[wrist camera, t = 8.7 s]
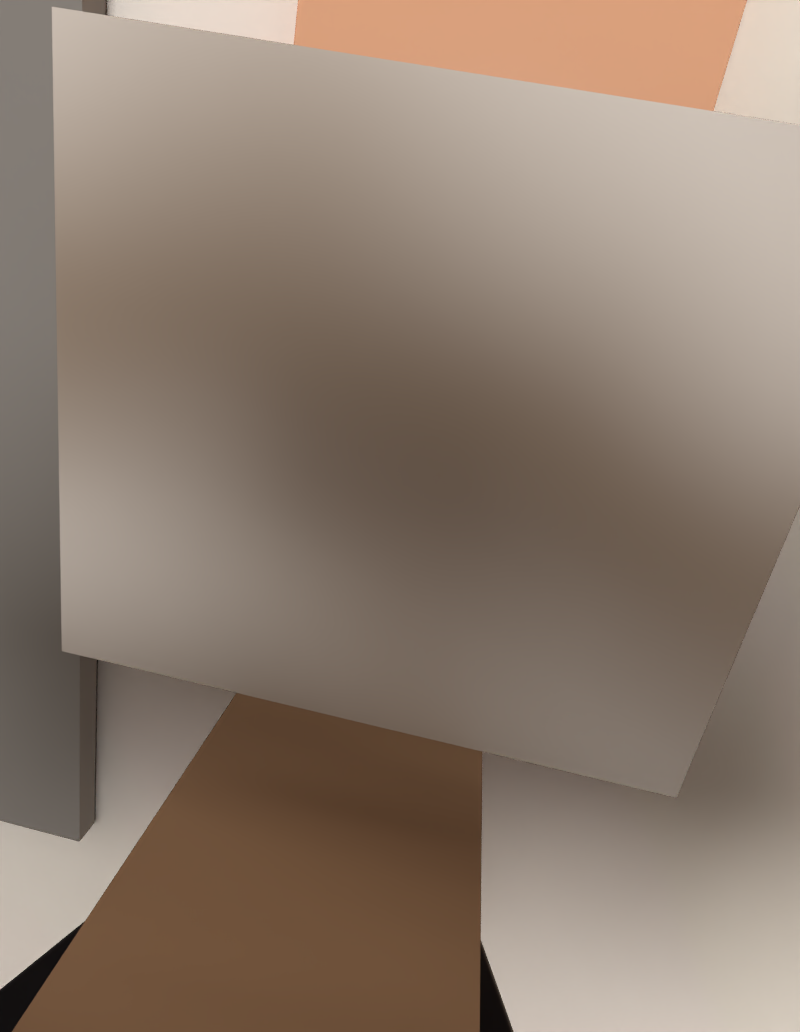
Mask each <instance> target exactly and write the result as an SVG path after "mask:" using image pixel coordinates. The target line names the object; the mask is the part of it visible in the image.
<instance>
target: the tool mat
mask: <svg viewBox="0 0 800 1032" xmlns="http://www.w3.org/2000/svg"><path fill="white" fill-rule="evenodd" d="M52 7H58V8H64V9H70V10H77V11H83V12H89V13H96V14H102V15H106V0H0V821H4V822H8V823H11V824H15V825H19V826H23V827H26V828H30V829H34V830H38V831H42V832H45V833H49V834H53V835H57V836H60V837H64V838H68V839H72V840H76V841H80V840H81V839H82V838H83V836H84V835H85V834H86V833H87V831H88V830H89V829H90V827H91V826H92V825H93V824H94V819H95V746H96V673H97V659H93V658H89V657H84V656H80V655H76V654H72V653H68V652H64V651H62V633H61V568H60V504H59V440H58V375H57V311H56V247H55V182H54V118H53V53H52Z"/></svg>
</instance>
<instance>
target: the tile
mask: <svg viewBox="0 0 800 1032" xmlns="http://www.w3.org/2000/svg"><path fill="white" fill-rule="evenodd" d="M746 2H747V0H298V7H297V17H296V27H295V37H294V45H298V46H304V47H311V48H317V49H323V50H330V51H336V52H342V53H349V54H355V55H361V56H368V57H374V58H380V59H387V60H393V61H399V62H406V63H412V64H418V65H425V66H431V67H437V68H444V69H450V70H456V71H463V72H469V73H475V74H482V75H488V76H494V77H501V78H507V79H513V80H520V81H526V82H532V83H539V84H545V85H551V86H557V87H564V88H570V89H576V90H583V91H589V92H595V93H602V94H608V95H614V96H621V97H627V98H633V99H640V100H646V101H652V102H659V103H665V104H671V105H678V106H684V107H690V108H697V109H703V110H709V111H713V110H714V107H715V104H716V100H717V97H718V94H719V90H720V87H721V84H722V81H723V77H724V74H725V71H726V67H727V64H728V61H729V58H730V54H731V51H732V48H733V44H734V41H735V38H736V35H737V31H738V28H739V25H740V21H741V18H742V15H743V11H744V8H745V5H746Z"/></svg>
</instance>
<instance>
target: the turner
mask: <svg viewBox="0 0 800 1032" xmlns="http://www.w3.org/2000/svg"><path fill="white" fill-rule="evenodd" d="M52 53H53V118H54V182H55V247H56V311H57V375H58V440H59V504H60V568H61V633H62V651H64V652H68V653H72V654H76V655H80V656H84V657H89V658H93V659H97V660H101V661H105V662H110V663H114V664H118V665H122V666H126V667H130V668H135V669H139V670H143V671H147V672H151V673H156V674H160V675H164V676H168V677H172V678H177V679H181V680H185V681H189V682H193V683H197V684H202V685H206V686H210V687H214V688H218V689H223V690H227V691H231V692H235V693H236V695H235V696H234V698H233V699H232V701H231V702H230V704H229V705H228V707H227V708H226V710H225V711H224V713H223V714H222V716H221V717H220V719H219V720H218V722H217V723H216V725H215V726H214V728H213V729H212V731H211V732H210V734H209V735H208V737H207V738H206V740H205V741H204V743H203V744H202V746H201V747H200V749H199V750H198V752H197V753H196V755H195V756H194V758H193V759H192V761H191V762H190V764H189V765H188V767H187V768H186V770H185V772H184V773H183V775H182V776H181V778H180V779H179V781H178V782H177V784H176V785H175V787H174V788H173V790H172V791H171V793H170V794H169V796H168V797H167V799H166V800H165V802H164V803H163V805H162V806H161V808H160V809H159V811H158V812H157V814H156V815H155V817H154V818H153V820H152V821H151V823H150V824H149V826H148V827H147V829H146V830H145V832H144V833H143V835H142V836H141V838H140V839H139V841H138V842H137V844H136V845H135V847H134V848H133V850H132V851H131V853H130V854H129V856H128V857H127V859H126V860H125V862H124V863H123V865H122V866H121V868H120V869H119V871H118V872H117V874H116V875H115V877H114V879H113V880H112V882H111V883H110V885H109V886H108V888H107V889H106V891H105V892H104V894H103V895H102V897H101V898H100V900H99V901H98V903H97V904H96V906H95V907H94V909H93V910H92V912H91V913H90V915H89V916H88V918H87V919H86V921H85V922H84V924H83V925H82V927H81V928H80V930H79V931H78V933H77V934H76V936H75V937H74V939H73V940H72V942H71V943H70V945H69V946H68V948H67V949H66V951H65V952H64V954H63V955H62V957H61V958H60V960H59V961H58V963H57V964H56V966H55V967H54V969H53V970H52V972H51V973H50V975H49V976H48V978H47V979H46V981H45V983H44V984H43V986H42V987H41V989H40V990H39V992H38V993H37V995H36V996H35V998H34V999H33V1001H32V1002H31V1004H30V1005H29V1007H28V1008H27V1010H26V1011H25V1013H24V1014H23V1016H22V1017H21V1019H20V1020H19V1022H18V1023H17V1025H16V1026H15V1028H14V1029H13V1031H12V1032H480V939H481V830H482V752H486V753H490V754H494V755H499V756H503V757H507V758H511V759H515V760H519V761H524V762H528V763H532V764H536V765H540V766H545V767H549V768H553V769H557V770H561V771H565V772H570V773H574V774H578V775H582V776H586V777H591V778H595V779H599V780H603V781H607V782H611V783H616V784H620V785H624V786H628V787H632V788H637V789H641V790H645V791H649V792H653V793H657V794H662V795H666V796H670V797H674V798H677V795H678V793H679V791H680V788H681V786H682V783H683V781H684V779H685V776H686V774H687V772H688V769H689V767H690V765H691V762H692V760H693V757H694V755H695V753H696V750H697V748H698V746H699V743H700V741H701V738H702V736H703V734H704V731H705V729H706V727H707V724H708V722H709V720H710V717H711V715H712V712H713V710H714V708H715V705H716V703H717V701H718V698H719V696H720V693H721V691H722V689H723V686H724V684H725V682H726V679H727V677H728V675H729V672H730V670H731V667H732V665H733V663H734V660H735V658H736V656H737V653H738V651H739V648H740V646H741V644H742V641H743V639H744V637H745V634H746V632H747V630H748V627H749V625H750V622H751V620H752V618H753V615H754V613H755V611H756V608H757V606H758V603H759V601H760V599H761V596H762V594H763V592H764V589H765V587H766V585H767V582H768V580H769V577H770V575H771V573H772V570H773V568H774V566H775V563H776V561H777V558H778V556H779V554H780V551H781V549H782V547H783V544H784V542H785V540H786V537H787V535H788V532H789V530H790V528H791V525H792V523H793V521H794V518H795V516H796V513H797V511H798V509H799V506H800V125H798V124H792V123H785V122H779V121H773V120H766V119H760V118H754V117H747V116H741V115H735V114H728V113H722V112H716V111H709V110H703V109H697V108H690V107H684V106H678V105H671V104H665V103H659V102H652V101H646V100H640V99H633V98H627V97H621V96H614V95H608V94H602V93H595V92H589V91H583V90H576V89H570V88H564V87H557V86H551V85H545V84H539V83H532V82H526V81H520V80H513V79H507V78H501V77H494V76H488V75H482V74H475V73H469V72H463V71H456V70H450V69H444V68H437V67H431V66H425V65H418V64H412V63H406V62H399V61H393V60H387V59H380V58H374V57H368V56H361V55H355V54H349V53H342V52H336V51H330V50H323V49H317V48H311V47H304V46H298V45H292V44H285V43H279V42H273V41H266V40H260V39H254V38H247V37H241V36H235V35H228V34H222V33H216V32H209V31H203V30H197V29H190V28H184V27H178V26H171V25H165V24H159V23H153V22H146V21H140V20H134V19H127V18H121V17H115V16H108V15H102V14H96V13H89V12H83V11H77V10H70V9H64V8H58V7H52Z"/></svg>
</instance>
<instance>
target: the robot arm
mask: <svg viewBox="0 0 800 1032" xmlns="http://www.w3.org/2000/svg"><path fill="white" fill-rule="evenodd" d="M83 924H84V922H83V923H82V924H81V925H80V926H78V927H77V928H76V929H75V930H73V931H72V932H71V933H70V934H69V935H67V936H66V937H65V938H64V939H62V940H61V941H60V942H59V943H57V944H56V945H55V946H54V947H52V948H51V949H50V950H49V951H47V952H46V953H45V954H44V955H43V956H41V957H40V958H39V959H38V960H36V961H35V962H34V963H33V964H31V965H30V966H29V967H28V968H26V969H25V970H24V971H23V972H21V973H20V974H19V975H18V976H17V977H15V978H14V979H13V980H12V981H10V982H9V983H8V984H7V985H5V986H4V987H3V988H2V989H0V1032H12V1031H13V1029H14V1028H15V1026H16V1025H17V1023H18V1022H19V1020H20V1019H21V1017H22V1016H23V1014H24V1013H25V1011H26V1010H27V1008H28V1007H29V1005H30V1004H31V1002H32V1001H33V999H34V998H35V996H36V995H37V993H38V992H39V990H40V989H41V987H42V986H43V984H44V983H45V981H46V979H47V978H48V976H49V975H50V973H51V972H52V970H53V969H54V967H55V966H56V964H57V963H58V961H59V960H60V958H61V957H62V955H63V954H64V952H65V951H66V949H67V948H68V946H69V945H70V943H71V942H72V940H73V939H74V937H75V936H76V934H77V933H78V931H79V930H80V928H81V927H82V925H83ZM480 1032H513V1029H512V1026H511V1023H510V1021H509V1018H508V1015H507V1012H506V1009H505V1006H504V1004H503V1001H502V998H501V995H500V992H499V990H498V987H497V984H496V981H495V978H494V976H493V973H492V970H491V967H490V964H489V962H488V959H487V956H486V953H485V950H484V948H483V945H482V942H481V939H480Z"/></svg>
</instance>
